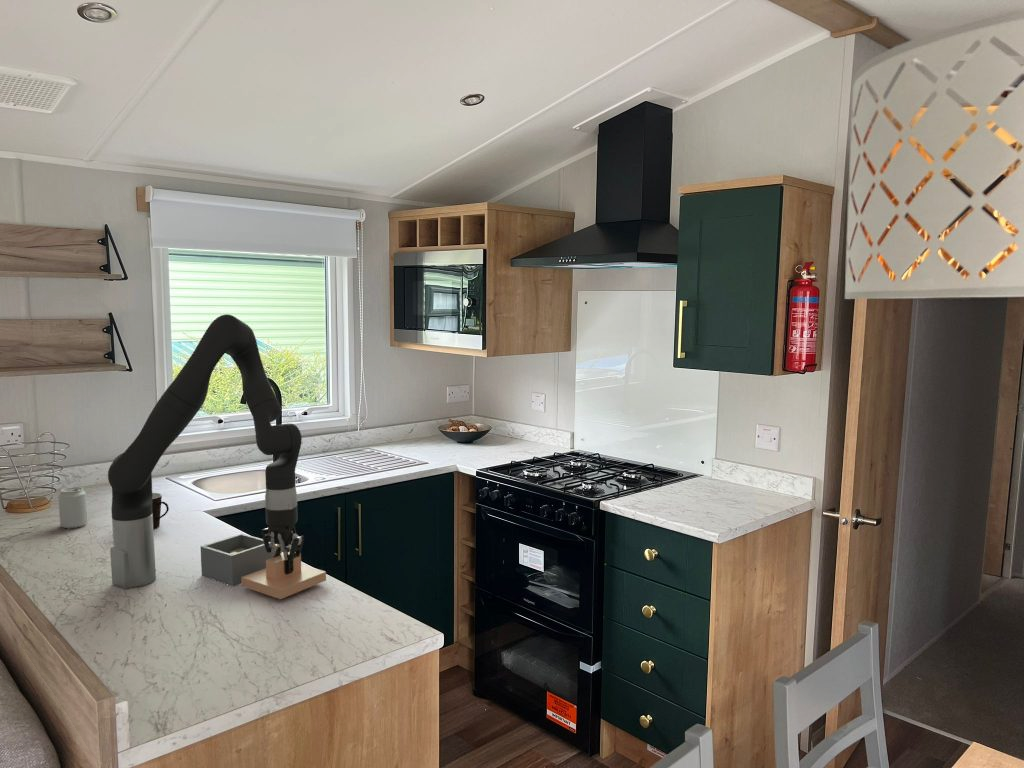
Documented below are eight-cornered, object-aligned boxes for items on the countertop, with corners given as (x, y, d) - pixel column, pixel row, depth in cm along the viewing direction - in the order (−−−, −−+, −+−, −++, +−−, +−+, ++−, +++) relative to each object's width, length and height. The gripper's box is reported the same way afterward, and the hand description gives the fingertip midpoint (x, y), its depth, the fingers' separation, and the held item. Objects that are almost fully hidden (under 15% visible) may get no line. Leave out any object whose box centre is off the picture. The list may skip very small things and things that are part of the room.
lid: (280, 599, 181) (279, 571, 180) (241, 586, 189) (240, 559, 188) (326, 580, 193) (325, 554, 192) (287, 568, 201) (287, 543, 200)
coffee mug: (128, 527, 239) (126, 496, 238) (156, 521, 245) (155, 491, 244) (143, 535, 231) (141, 503, 230) (172, 529, 237) (170, 498, 236)
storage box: (232, 586, 192) (231, 555, 191) (201, 575, 199) (200, 546, 198) (274, 571, 203) (273, 542, 202) (243, 561, 210) (242, 533, 209)
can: (91, 525, 240) (89, 488, 239) (65, 531, 235) (62, 493, 234) (83, 520, 246) (80, 484, 244) (57, 526, 240) (54, 488, 239)
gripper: (250, 503, 189) (252, 570, 191) (288, 512, 181) (290, 582, 183) (274, 496, 195) (276, 561, 197) (312, 505, 188) (314, 573, 190)
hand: (283, 571), depth 190 cm, fingers closed on lid, 3 cm apart
